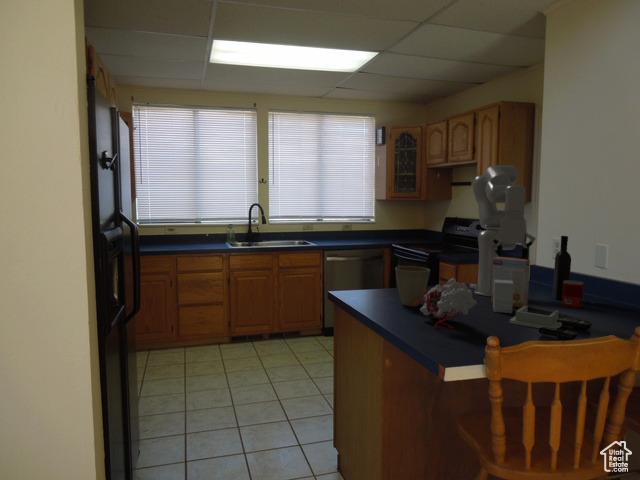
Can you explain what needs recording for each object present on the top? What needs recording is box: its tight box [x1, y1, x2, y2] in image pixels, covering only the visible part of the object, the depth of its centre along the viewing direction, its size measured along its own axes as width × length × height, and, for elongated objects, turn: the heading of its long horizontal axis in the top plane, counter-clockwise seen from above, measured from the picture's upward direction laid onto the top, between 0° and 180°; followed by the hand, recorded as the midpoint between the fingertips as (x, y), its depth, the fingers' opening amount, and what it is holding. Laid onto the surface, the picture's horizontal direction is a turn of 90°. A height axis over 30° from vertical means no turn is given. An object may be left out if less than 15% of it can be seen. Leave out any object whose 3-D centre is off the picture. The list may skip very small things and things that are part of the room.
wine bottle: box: [552, 235, 572, 301], centre depth 217 cm, size 6×6×30 cm
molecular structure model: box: [412, 277, 477, 330], centre depth 169 cm, size 20×18×25 cm
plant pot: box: [394, 265, 431, 307], centre depth 200 cm, size 15×15×16 cm
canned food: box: [561, 279, 585, 309], centre depth 203 cm, size 8×8×11 cm
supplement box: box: [492, 280, 514, 314], centre depth 192 cm, size 7×7×13 cm
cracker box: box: [490, 256, 531, 309], centre depth 203 cm, size 14×6×21 cm, turn 47°
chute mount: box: [509, 305, 563, 329], centre depth 174 cm, size 16×14×5 cm
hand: (511, 256), depth 191 cm, fingers open, 9 cm apart
